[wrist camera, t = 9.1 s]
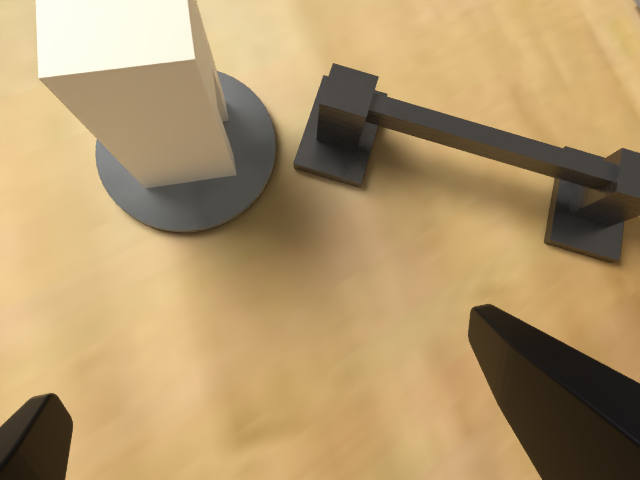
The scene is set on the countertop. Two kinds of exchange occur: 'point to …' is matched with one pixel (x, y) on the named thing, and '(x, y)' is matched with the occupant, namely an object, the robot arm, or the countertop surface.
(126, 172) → the slate coaster
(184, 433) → the countertop surface
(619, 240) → the black stand
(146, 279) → the countertop surface
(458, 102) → the countertop surface
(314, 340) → the countertop surface
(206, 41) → the cream link
